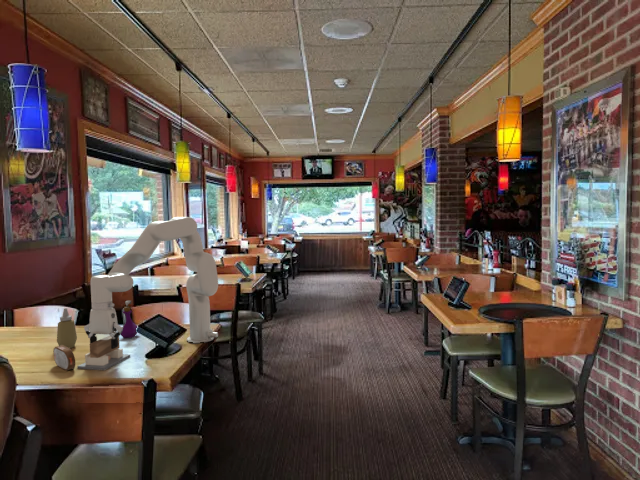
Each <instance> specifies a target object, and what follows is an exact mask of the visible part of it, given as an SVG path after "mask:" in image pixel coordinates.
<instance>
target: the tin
mask: <svg viewBox="0 0 640 480" xmlns="http://www.w3.org/2000/svg"><path fill="white" fill-rule="evenodd" d="M53 356H54V357H53V359H54V362H55V364H56V366H57V367H59V368H61V369H62V370H64V371H70V370H74V369H75V368H76V358H75V354H74V352H73V350H72V348H68V347H65V346H63V345H60V346H59V345H57V346H54V348H53Z"/></svg>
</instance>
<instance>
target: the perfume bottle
mask: <svg viewBox="0 0 640 480" xmlns="http://www.w3.org/2000/svg"><path fill="white" fill-rule="evenodd" d="M124 303H125V305H126V307H123V311H122V313H123V314H124V315H125V323H124V325H123V326H122V327H123V330H122V332H121V334H120V336H121V337H123V339H133V338H134V337H136V336H137V334H138V333H137V332H136V328H137V326H138V325H137V324H136V323H135V322H133V320H132V318H131V313H133V311H132V310H131V308H130V307H129V305H131V304H132V300H126V301H125V302H124ZM135 335H136V336H135ZM132 337H133V338H132Z"/></svg>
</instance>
